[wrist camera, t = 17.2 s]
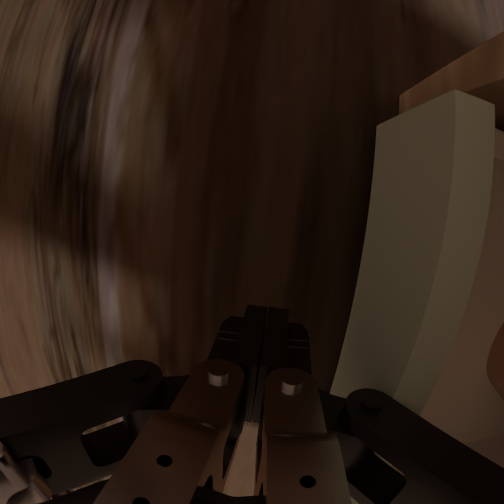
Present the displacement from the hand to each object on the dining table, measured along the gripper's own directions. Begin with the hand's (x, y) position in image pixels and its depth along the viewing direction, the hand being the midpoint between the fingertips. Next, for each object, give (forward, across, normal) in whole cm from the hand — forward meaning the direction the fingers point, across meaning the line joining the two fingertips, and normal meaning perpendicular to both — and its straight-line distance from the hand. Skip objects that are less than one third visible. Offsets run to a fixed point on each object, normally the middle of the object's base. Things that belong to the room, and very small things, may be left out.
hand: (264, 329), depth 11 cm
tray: (+1, -10, 0) cm, 10 cm away
